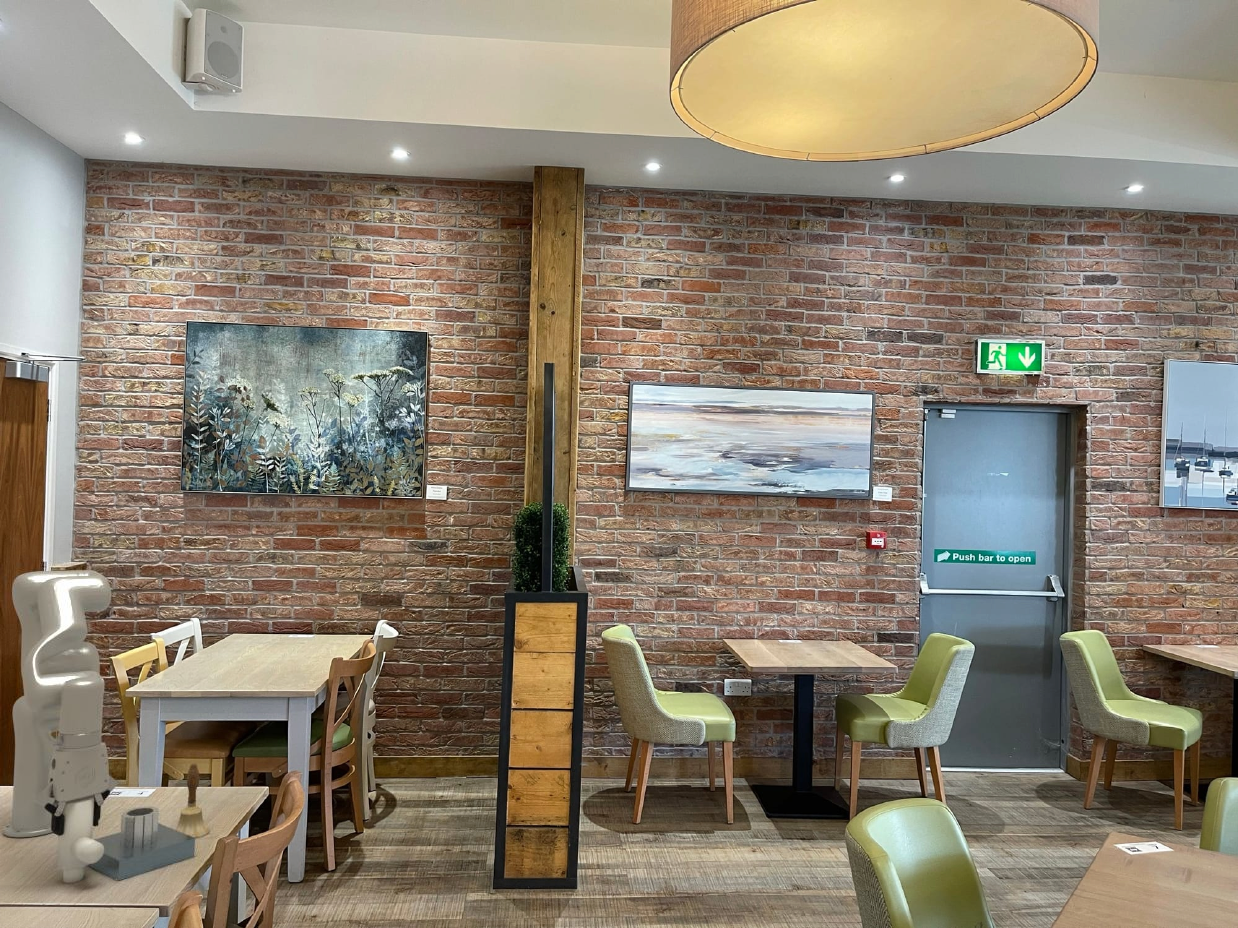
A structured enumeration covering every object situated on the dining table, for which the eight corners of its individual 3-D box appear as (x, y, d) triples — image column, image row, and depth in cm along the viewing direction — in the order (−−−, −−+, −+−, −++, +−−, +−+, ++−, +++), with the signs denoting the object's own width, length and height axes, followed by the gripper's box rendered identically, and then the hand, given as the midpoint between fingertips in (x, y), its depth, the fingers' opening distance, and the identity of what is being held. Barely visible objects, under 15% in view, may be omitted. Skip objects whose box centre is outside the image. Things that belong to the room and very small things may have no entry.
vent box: (80, 861, 189) (83, 814, 190) (155, 839, 202) (157, 795, 203) (118, 880, 180) (120, 830, 181) (194, 856, 193) (196, 809, 194)
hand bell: (217, 829, 210) (220, 761, 210) (190, 841, 202) (193, 770, 203) (190, 825, 212) (192, 757, 213) (161, 837, 204) (165, 766, 205)
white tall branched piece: (50, 880, 180) (54, 799, 181) (81, 870, 185) (85, 792, 186) (75, 894, 174) (79, 810, 175) (107, 883, 179) (111, 802, 180)
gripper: (42, 751, 173) (37, 846, 172) (132, 734, 187) (128, 821, 186) (25, 745, 177) (20, 837, 176) (114, 728, 191) (110, 814, 190)
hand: (75, 828), depth 181 cm, fingers closed on white tall branched piece, 6 cm apart
